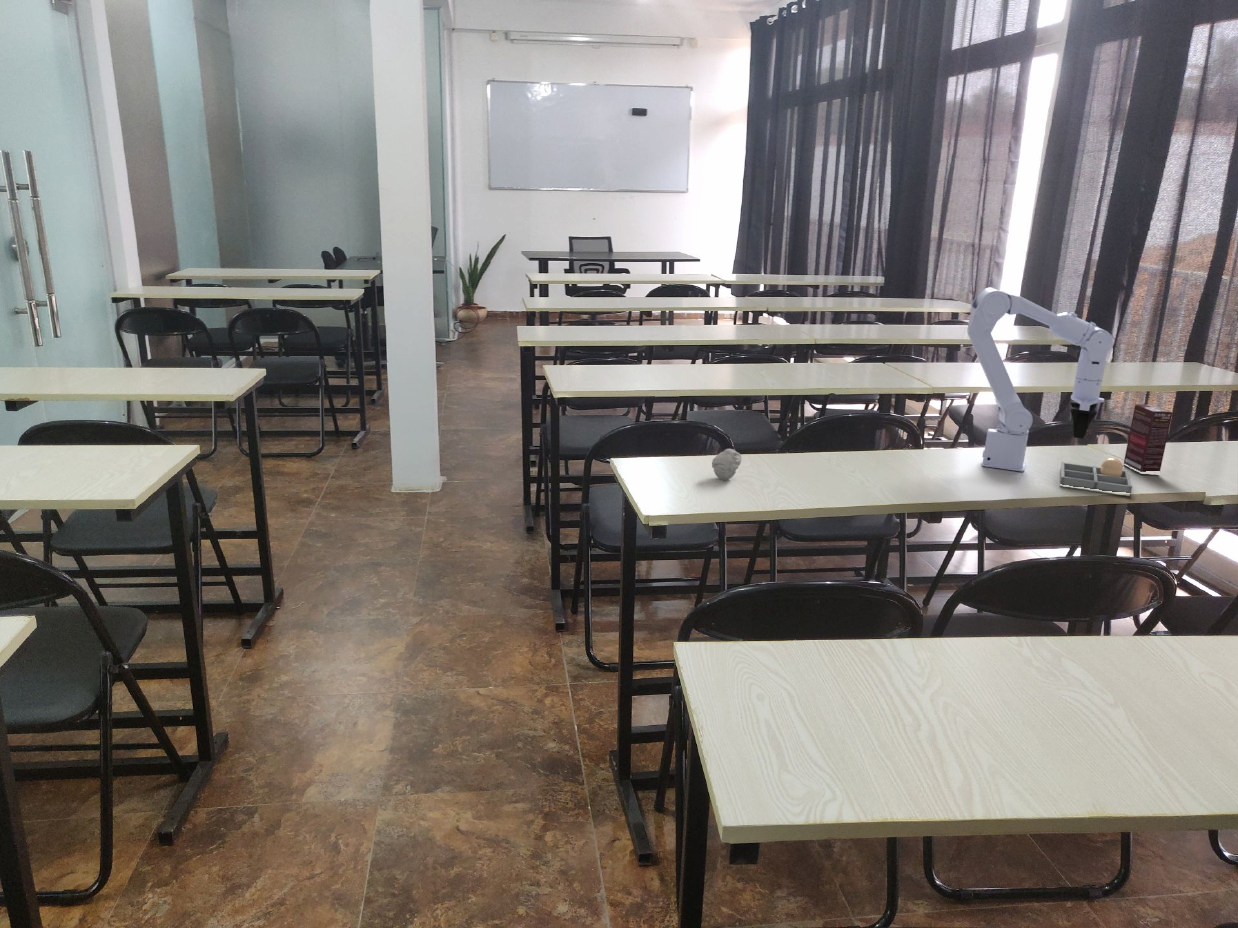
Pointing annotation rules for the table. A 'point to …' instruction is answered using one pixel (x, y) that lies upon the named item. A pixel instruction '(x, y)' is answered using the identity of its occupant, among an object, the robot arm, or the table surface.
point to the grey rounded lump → (726, 464)
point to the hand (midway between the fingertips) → (1078, 434)
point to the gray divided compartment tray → (1093, 478)
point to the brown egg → (1112, 467)
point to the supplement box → (1147, 437)
